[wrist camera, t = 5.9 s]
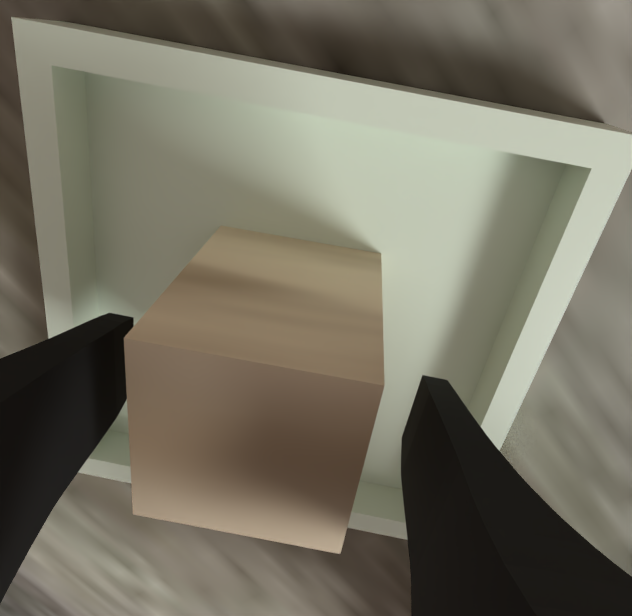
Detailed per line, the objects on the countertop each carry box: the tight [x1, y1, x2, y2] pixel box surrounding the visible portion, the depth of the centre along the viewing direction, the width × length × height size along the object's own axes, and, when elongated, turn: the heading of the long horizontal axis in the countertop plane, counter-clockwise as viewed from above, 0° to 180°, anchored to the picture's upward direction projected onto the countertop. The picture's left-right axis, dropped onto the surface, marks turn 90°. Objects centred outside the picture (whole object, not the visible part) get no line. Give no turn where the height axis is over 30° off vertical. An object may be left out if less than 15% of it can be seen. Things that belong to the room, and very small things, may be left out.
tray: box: [11, 17, 632, 540], centre depth 15 cm, size 14×14×2 cm
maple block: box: [124, 226, 385, 554], centre depth 12 cm, size 4×4×6 cm
